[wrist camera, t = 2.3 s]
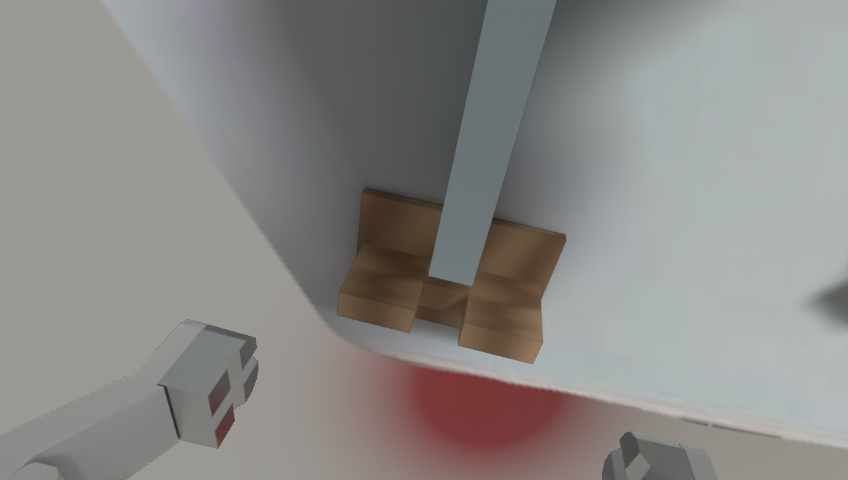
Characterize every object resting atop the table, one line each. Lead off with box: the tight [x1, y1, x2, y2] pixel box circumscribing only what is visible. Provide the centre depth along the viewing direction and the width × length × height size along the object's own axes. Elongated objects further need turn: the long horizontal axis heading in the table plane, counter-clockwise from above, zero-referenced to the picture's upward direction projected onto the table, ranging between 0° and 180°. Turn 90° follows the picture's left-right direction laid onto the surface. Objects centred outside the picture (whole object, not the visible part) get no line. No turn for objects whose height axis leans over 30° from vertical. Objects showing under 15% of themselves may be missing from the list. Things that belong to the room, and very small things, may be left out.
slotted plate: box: [428, 0, 557, 286], centre depth 24 cm, size 14×2×10 cm, turn 171°
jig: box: [337, 188, 566, 364], centre depth 33 cm, size 15×11×7 cm
